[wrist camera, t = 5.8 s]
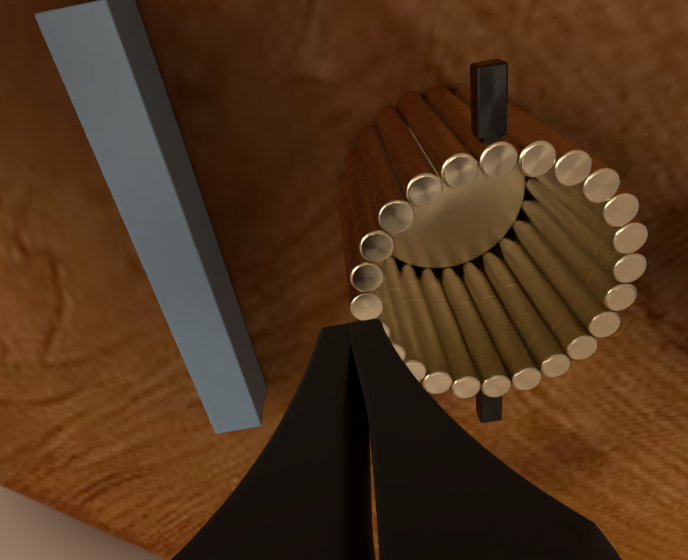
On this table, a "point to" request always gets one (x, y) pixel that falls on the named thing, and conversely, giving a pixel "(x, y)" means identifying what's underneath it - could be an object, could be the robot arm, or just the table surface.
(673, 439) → the table surface
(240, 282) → the table surface
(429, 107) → the pot
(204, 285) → the rectangular block
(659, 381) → the table surface
